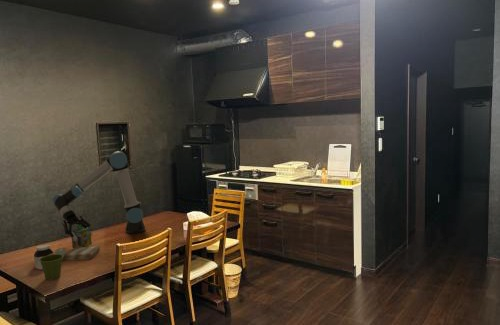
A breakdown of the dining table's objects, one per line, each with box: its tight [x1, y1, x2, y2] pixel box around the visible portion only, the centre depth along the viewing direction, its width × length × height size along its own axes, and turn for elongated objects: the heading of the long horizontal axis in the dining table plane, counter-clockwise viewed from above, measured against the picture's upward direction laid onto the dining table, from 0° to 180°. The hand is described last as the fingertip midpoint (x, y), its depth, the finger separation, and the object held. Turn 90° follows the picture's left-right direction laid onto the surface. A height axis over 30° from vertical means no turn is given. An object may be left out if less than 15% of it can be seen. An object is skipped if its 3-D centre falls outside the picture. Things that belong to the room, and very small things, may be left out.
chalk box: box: [71, 224, 92, 249], centre depth 257 cm, size 9×9×15 cm
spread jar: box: [33, 244, 54, 270], centre depth 225 cm, size 12×11×12 cm
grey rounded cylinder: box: [54, 247, 67, 261], centre depth 238 cm, size 6×6×6 cm
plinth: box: [64, 245, 100, 261], centre depth 243 cm, size 16×16×3 cm
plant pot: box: [39, 253, 63, 281], centre depth 207 cm, size 12×12×11 cm
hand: (84, 237), depth 256 cm, fingers closed on chalk box, 11 cm apart
